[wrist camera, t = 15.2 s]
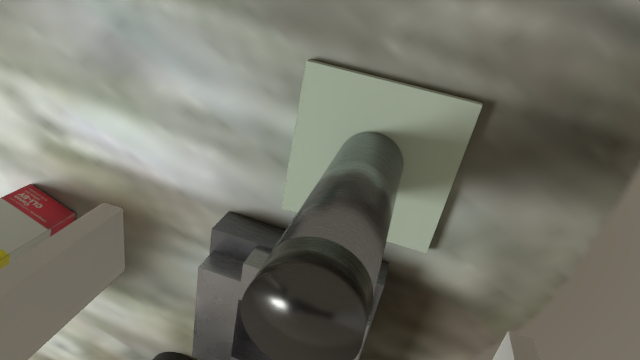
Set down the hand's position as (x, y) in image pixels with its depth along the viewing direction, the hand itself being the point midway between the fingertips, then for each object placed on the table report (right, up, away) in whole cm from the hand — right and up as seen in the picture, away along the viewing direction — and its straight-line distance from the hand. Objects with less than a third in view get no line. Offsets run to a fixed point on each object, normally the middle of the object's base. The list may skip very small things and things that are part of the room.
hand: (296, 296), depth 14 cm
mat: (+4, +5, +12) cm, 14 cm away
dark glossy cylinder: (+4, +5, +11) cm, 13 cm away
